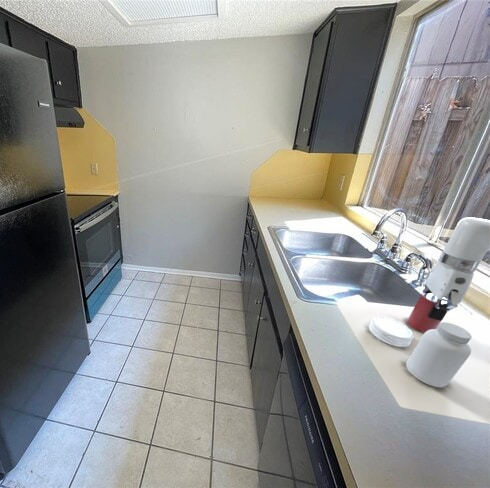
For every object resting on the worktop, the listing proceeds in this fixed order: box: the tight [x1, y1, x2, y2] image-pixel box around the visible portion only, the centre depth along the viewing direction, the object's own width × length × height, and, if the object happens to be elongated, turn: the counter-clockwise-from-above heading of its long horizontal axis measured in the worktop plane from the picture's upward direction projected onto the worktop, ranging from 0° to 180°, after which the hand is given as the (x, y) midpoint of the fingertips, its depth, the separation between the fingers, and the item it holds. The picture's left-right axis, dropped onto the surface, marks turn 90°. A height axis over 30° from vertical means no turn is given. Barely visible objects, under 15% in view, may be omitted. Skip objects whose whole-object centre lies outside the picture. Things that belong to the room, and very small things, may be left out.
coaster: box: [368, 315, 415, 348], centre depth 78 cm, size 10×10×4 cm
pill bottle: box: [405, 321, 472, 388], centre depth 63 cm, size 8×8×15 cm
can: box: [406, 292, 447, 334], centre depth 80 cm, size 7×7×11 cm
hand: (428, 311), depth 80 cm, fingers closed on can, 6 cm apart
